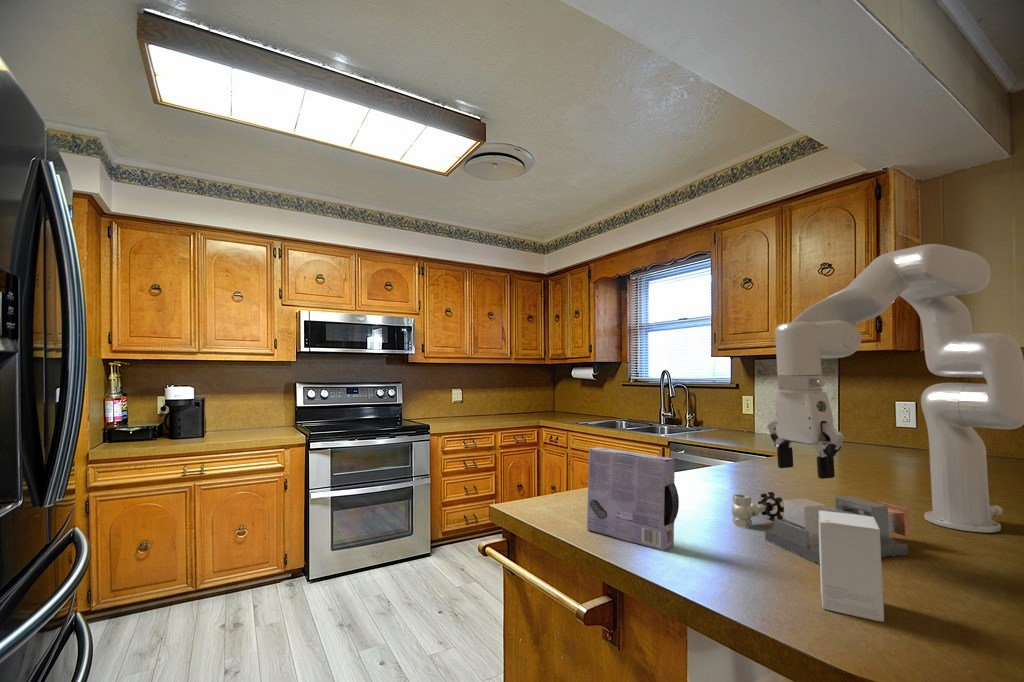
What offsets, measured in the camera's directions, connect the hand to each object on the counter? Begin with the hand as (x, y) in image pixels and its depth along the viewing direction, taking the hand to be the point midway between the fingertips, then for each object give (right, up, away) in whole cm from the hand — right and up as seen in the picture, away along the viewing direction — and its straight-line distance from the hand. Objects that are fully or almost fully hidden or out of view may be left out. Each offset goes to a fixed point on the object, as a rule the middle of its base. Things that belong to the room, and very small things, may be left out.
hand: (805, 472), depth 94 cm
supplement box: (-7, -14, -23) cm, 28 cm away
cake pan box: (-33, -15, +6) cm, 37 cm away
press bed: (+6, -15, 0) cm, 16 cm away
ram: (+14, -13, +2) cm, 19 cm away
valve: (-2, -16, +15) cm, 22 cm away
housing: (0, -13, -1) cm, 13 cm away
